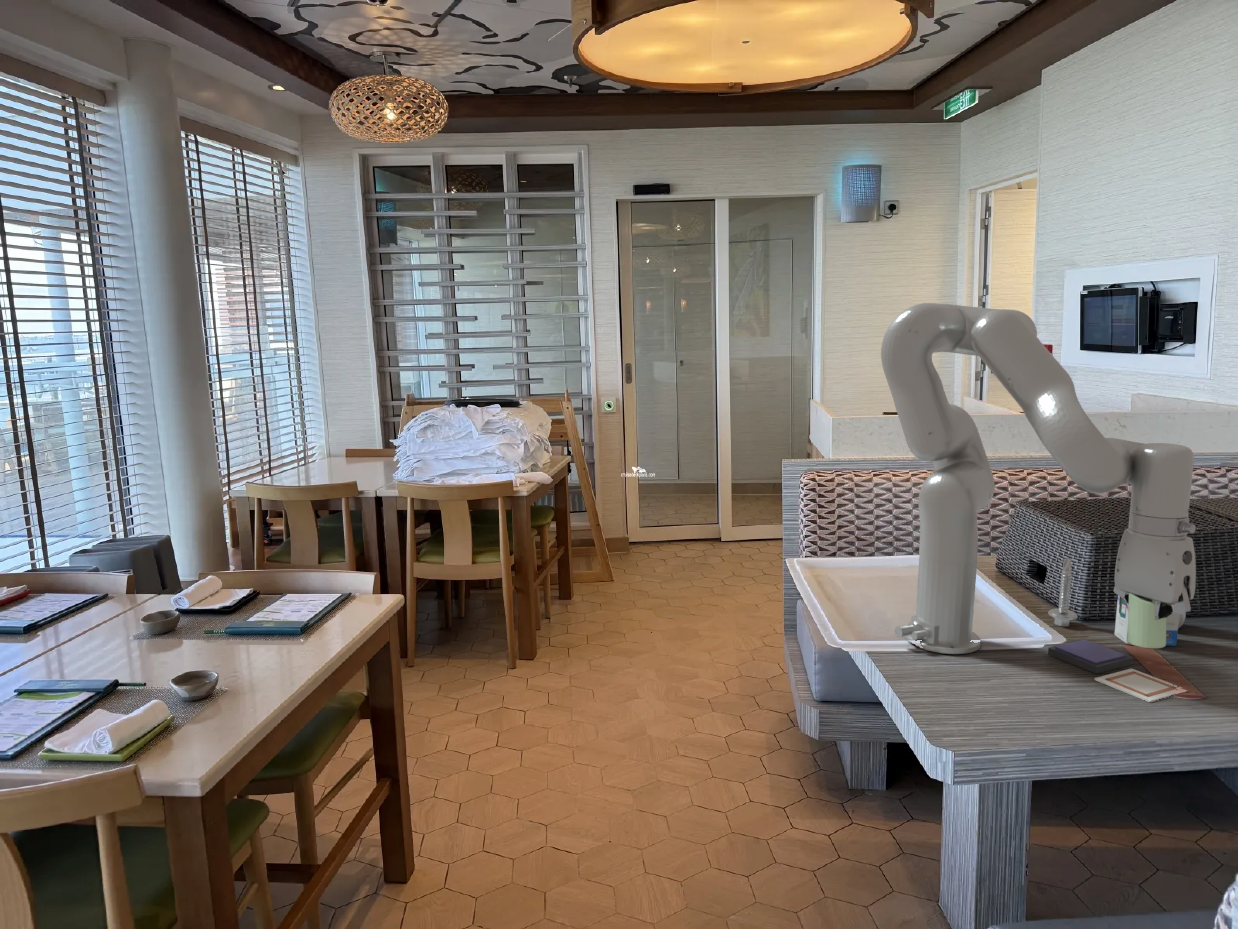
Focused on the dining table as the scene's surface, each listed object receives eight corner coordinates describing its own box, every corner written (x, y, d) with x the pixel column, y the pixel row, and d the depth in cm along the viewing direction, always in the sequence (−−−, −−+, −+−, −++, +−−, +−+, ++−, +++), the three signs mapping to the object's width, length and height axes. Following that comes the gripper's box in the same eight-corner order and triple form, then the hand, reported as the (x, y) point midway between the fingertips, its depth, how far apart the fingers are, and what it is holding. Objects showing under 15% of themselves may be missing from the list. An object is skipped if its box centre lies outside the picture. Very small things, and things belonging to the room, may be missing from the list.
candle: (1172, 644, 131) (1173, 592, 130) (1154, 650, 128) (1155, 597, 127) (1139, 637, 135) (1140, 586, 134) (1121, 642, 132) (1122, 591, 132)
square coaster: (1149, 702, 127) (1150, 700, 127) (1094, 680, 135) (1094, 677, 135) (1187, 691, 131) (1187, 689, 131) (1131, 670, 139) (1131, 667, 139)
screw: (1081, 629, 157) (1054, 628, 157) (1068, 620, 162) (1042, 619, 162) (1087, 561, 155) (1060, 561, 155) (1074, 554, 160) (1048, 554, 160)
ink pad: (1096, 673, 137) (1097, 665, 137) (1047, 654, 145) (1048, 645, 145) (1132, 664, 141) (1133, 655, 141) (1083, 645, 149) (1084, 637, 149)
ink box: (1162, 636, 153) (1170, 558, 151) (1177, 646, 149) (1186, 566, 146) (1112, 635, 154) (1120, 557, 152) (1126, 645, 149) (1134, 565, 147)
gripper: (1226, 533, 123) (1213, 653, 126) (1125, 512, 137) (1116, 621, 140) (1194, 539, 120) (1181, 662, 123) (1094, 517, 134) (1085, 629, 137)
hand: (1147, 640), depth 131 cm, fingers closed on candle, 1 cm apart
